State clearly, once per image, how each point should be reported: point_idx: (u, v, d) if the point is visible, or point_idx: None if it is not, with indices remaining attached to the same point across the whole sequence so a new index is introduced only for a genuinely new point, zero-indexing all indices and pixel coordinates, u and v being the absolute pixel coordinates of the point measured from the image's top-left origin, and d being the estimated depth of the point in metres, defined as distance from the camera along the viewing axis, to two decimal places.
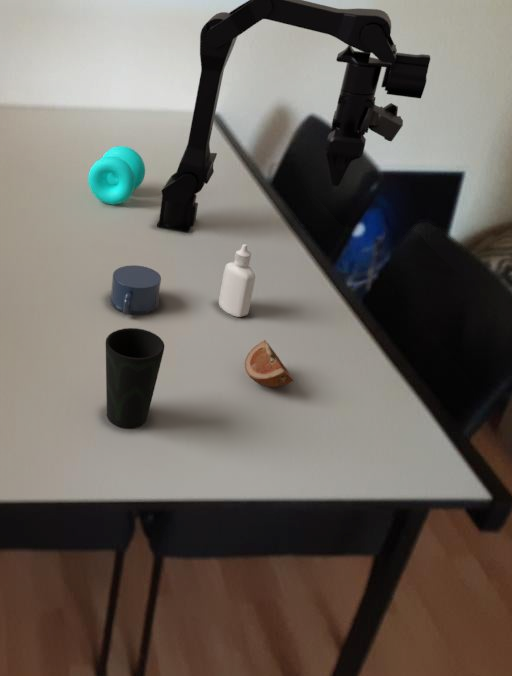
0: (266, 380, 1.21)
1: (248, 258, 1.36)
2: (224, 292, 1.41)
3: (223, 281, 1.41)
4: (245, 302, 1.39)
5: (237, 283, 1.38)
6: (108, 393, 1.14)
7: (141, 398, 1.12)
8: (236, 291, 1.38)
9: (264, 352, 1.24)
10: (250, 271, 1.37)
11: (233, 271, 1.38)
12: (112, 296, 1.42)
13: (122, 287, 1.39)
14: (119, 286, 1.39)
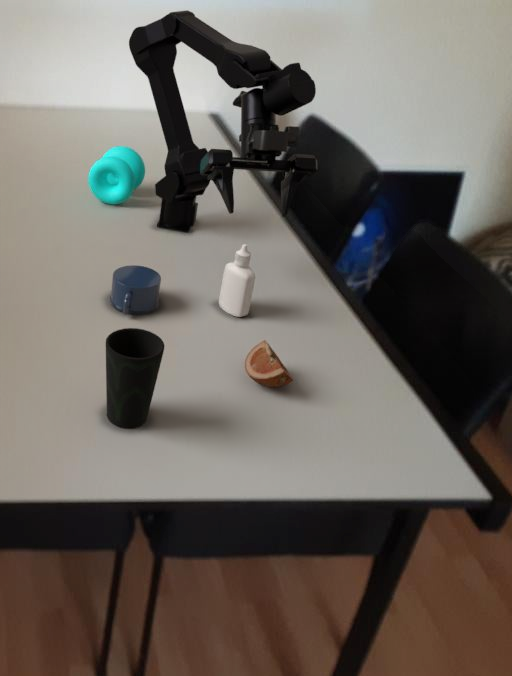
0: (266, 380, 1.21)
1: (248, 258, 1.36)
2: (224, 292, 1.41)
3: (223, 281, 1.41)
4: (245, 302, 1.39)
5: (237, 283, 1.38)
6: (108, 393, 1.14)
7: (141, 398, 1.12)
8: (236, 291, 1.38)
9: (264, 352, 1.24)
10: (250, 271, 1.37)
11: (233, 271, 1.38)
12: (112, 296, 1.42)
13: (122, 287, 1.39)
14: (119, 286, 1.39)
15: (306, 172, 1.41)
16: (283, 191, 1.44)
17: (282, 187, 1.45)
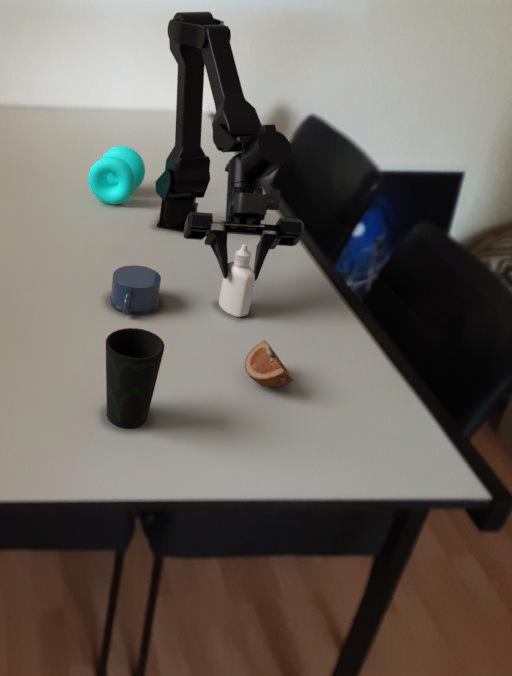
0: (266, 380, 1.21)
1: (248, 258, 1.36)
2: (224, 292, 1.41)
3: (223, 281, 1.41)
4: (245, 302, 1.39)
5: (237, 283, 1.38)
6: (108, 393, 1.14)
7: (141, 398, 1.12)
8: (236, 291, 1.38)
9: (264, 352, 1.24)
10: (250, 271, 1.37)
11: (233, 271, 1.38)
12: (112, 296, 1.42)
13: (122, 287, 1.39)
14: (119, 286, 1.39)
15: (277, 235, 1.36)
16: (256, 255, 1.40)
17: (256, 251, 1.41)
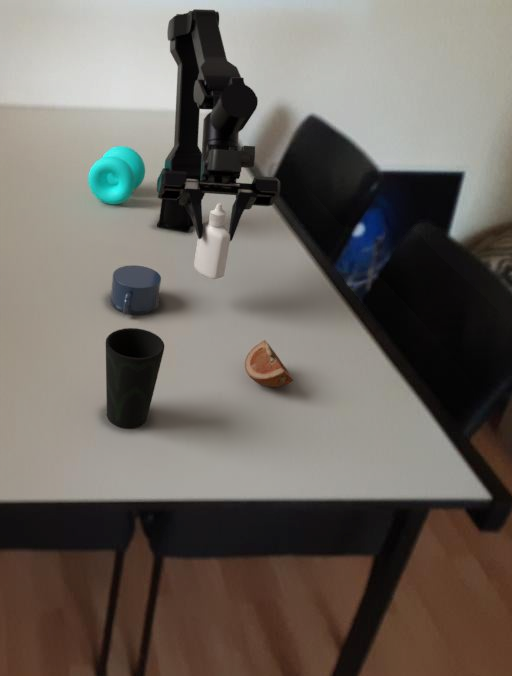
0: (266, 380, 1.21)
1: (223, 217, 1.33)
2: (199, 254, 1.38)
3: (198, 242, 1.38)
4: (220, 263, 1.36)
5: (212, 243, 1.34)
6: (108, 393, 1.14)
7: (141, 398, 1.12)
8: (211, 251, 1.35)
9: (264, 352, 1.24)
10: (225, 231, 1.34)
11: (208, 231, 1.34)
12: (112, 296, 1.42)
13: (122, 287, 1.39)
14: (119, 286, 1.39)
15: (253, 194, 1.33)
16: (232, 215, 1.36)
17: (232, 211, 1.37)
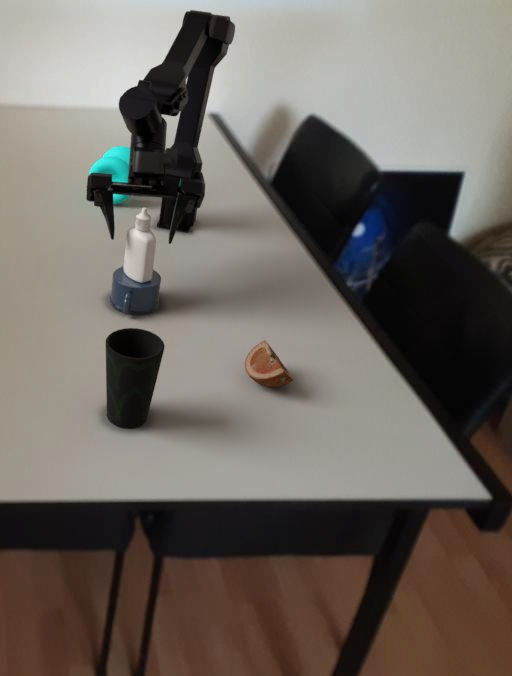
0: (266, 380, 1.21)
1: (148, 222, 1.34)
2: (127, 258, 1.39)
3: (126, 246, 1.39)
4: (147, 267, 1.37)
5: (138, 247, 1.36)
6: (108, 393, 1.14)
7: (141, 398, 1.12)
8: (138, 255, 1.36)
9: (264, 352, 1.24)
10: (150, 235, 1.35)
11: (134, 235, 1.36)
12: (112, 296, 1.42)
13: (122, 287, 1.39)
14: (119, 286, 1.39)
15: (191, 197, 1.34)
16: (172, 218, 1.37)
17: (173, 214, 1.38)
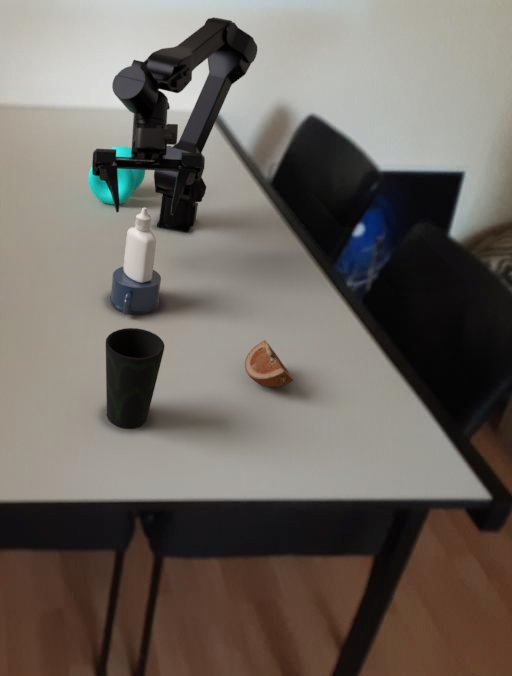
0: (266, 380, 1.21)
1: (148, 222, 1.34)
2: (127, 258, 1.39)
3: (126, 246, 1.39)
4: (147, 267, 1.37)
5: (138, 247, 1.36)
6: (108, 393, 1.14)
7: (141, 398, 1.12)
8: (138, 255, 1.36)
9: (264, 352, 1.24)
10: (150, 235, 1.35)
11: (134, 235, 1.36)
12: (112, 296, 1.42)
13: (122, 287, 1.39)
14: (119, 286, 1.39)
15: (191, 170, 1.41)
16: (174, 190, 1.45)
17: None
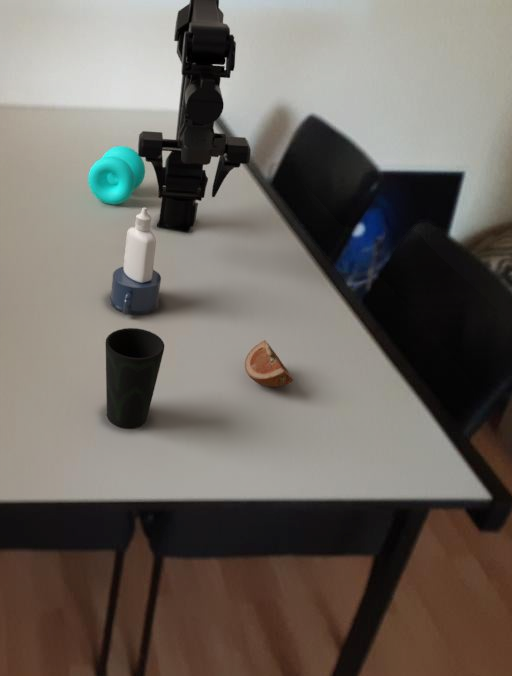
0: (266, 380, 1.21)
1: (148, 222, 1.34)
2: (127, 258, 1.39)
3: (126, 246, 1.39)
4: (147, 267, 1.37)
5: (138, 247, 1.36)
6: (108, 393, 1.14)
7: (141, 398, 1.12)
8: (138, 255, 1.36)
9: (264, 352, 1.24)
10: (150, 235, 1.35)
11: (134, 235, 1.36)
12: (112, 296, 1.42)
13: (122, 287, 1.39)
14: (119, 286, 1.39)
15: (236, 166, 1.43)
16: (217, 169, 1.48)
17: (219, 162, 1.48)
